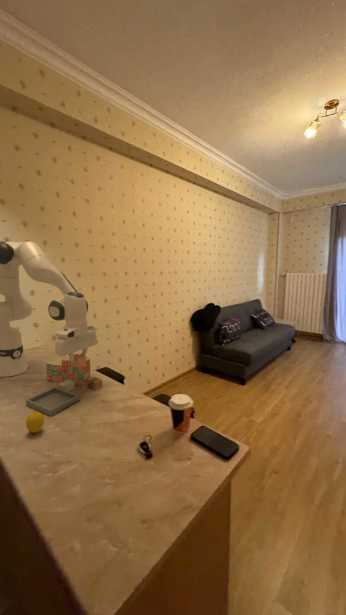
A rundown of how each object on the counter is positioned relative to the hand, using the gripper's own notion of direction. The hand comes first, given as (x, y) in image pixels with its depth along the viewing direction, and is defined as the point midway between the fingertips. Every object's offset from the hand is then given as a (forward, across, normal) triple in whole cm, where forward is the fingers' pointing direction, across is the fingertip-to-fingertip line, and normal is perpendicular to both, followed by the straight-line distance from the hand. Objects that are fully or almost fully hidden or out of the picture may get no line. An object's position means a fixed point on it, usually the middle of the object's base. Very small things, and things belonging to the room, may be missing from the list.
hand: (78, 359), depth 119 cm
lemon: (+17, +27, +8) cm, 33 cm away
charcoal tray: (+17, +11, -4) cm, 21 cm away
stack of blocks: (+17, -8, -16) cm, 25 cm away
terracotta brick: (+3, 0, 0) cm, 3 cm away
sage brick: (+17, 0, -9) cm, 19 cm away
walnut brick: (+17, -9, 0) cm, 19 cm away
